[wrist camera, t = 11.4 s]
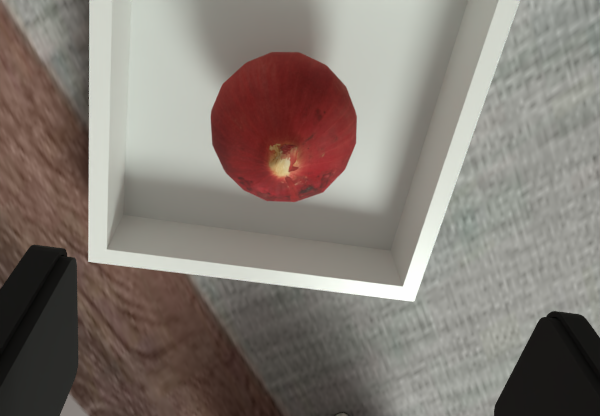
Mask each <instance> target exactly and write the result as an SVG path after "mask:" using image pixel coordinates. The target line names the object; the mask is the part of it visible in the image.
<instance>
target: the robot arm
mask: <svg viewBox="0 0 600 416" xmlns="http://www.w3.org/2000/svg"><path fill="white" fill-rule="evenodd" d="M77 368H78V317H77V263H76V259H75V258H72V257H67V252H66V250H65V249H63V248H55V247H47V246H40V245H32V246H31V247H30V248H29V249H28V250H27V252H26V253H25V255H24V256H23V258H22V259H21V260H20V262H19V263H18V265H17V266H16V268H15V269H14V270H13V272H12V273H11V275H10V276H9V278H8V279H7V281H6V282H5V283H4V285H3V286H2V288H1V289H0V416H60V413H61V411H62V408H63V406H64V404H65V401H66V399H67V396H68V394H69V392H70V389H71V387H72V384H73V382H74V379H75V376H76V373H77ZM494 416H600V338H599V336H598V335H597V333H596V332H595V331H594V329H593V328H592V326H591V325H590V324H589V322H588V321H587V320H586V318H585V317H584V316H582V315H579V314H572V313H565V312H557V311H554V312H551V313H549V314H548V315H547V317H543V318H541V319H540V320H539V322H538V323H537V325H536V327H535V329H534V331H533V333H532V335H531V337H530V339H529V341H528V343H527V345H526V347H525V348H524V350H523V352H522V354H521V356H520V358H519V360H518V362H517V364H516V366H515V368H514V370H513V372H512V374H511V376H510V377H509V379H508V381H507V383H506V385H505V387H504V389H503V391H502V393H501V395H500V397H499V399H498V401H497V403H496V405H495V409H494Z"/></svg>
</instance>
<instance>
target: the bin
mask: <svg viewBox="0 0 600 416" xmlns="http://www.w3.org/2000/svg"><path fill="white" fill-rule="evenodd" d="M519 2H520V0H89V243H88V262H95V263H103V264H111V265H119V266H128V267H136V268H144V269H152V270H160V271H168V272H177V273H185V274H193V275H201V276H209V277H217V278H226V279H234V280H242V281H250V282H258V283H266V284H275V285H283V286H291V287H299V288H307V289H315V290H324V291H332V292H340V293H348V294H356V295H364V296H373V297H381V298H389V299H397V300H405V301H413V302H414V300H415V298H416V295H417V292H418V289H419V286H420V283H421V281H422V278H423V275H424V272H425V269H426V266H427V263H428V261H429V258H430V255H431V252H432V249H433V246H434V244H435V241H436V238H437V235H438V232H439V229H440V227H441V224H442V221H443V218H444V215H445V212H446V209H447V207H448V204H449V201H450V198H451V195H452V192H453V190H454V187H455V184H456V181H457V178H458V175H459V173H460V170H461V167H462V164H463V161H464V158H465V156H466V153H467V150H468V147H469V144H470V141H471V138H472V136H473V133H474V130H475V127H476V124H477V121H478V119H479V116H480V113H481V110H482V107H483V104H484V102H485V99H486V96H487V93H488V90H489V87H490V84H491V82H492V79H493V76H494V73H495V70H496V67H497V65H498V62H499V59H500V56H501V53H502V50H503V48H504V45H505V42H506V39H507V36H508V33H509V30H510V28H511V25H512V22H513V19H514V16H515V13H516V11H517V8H518V5H519ZM271 52H300V53H302V54H304V55H306V56H308V57H311V58H313V59H315V60H317V61H319V62H321V63H323V64H325V65H327V66H328V67H329V68H330V69H331V70H332V72H333V73H334V74H335V75H336V76H337V77H338V78H339V79H340V80H341V81H342V82H343V84H344V85H345V86H346V88H347V90H348V93H349V96H350V98H351V101H352V103H353V106H354V109H355V111H356V115H357V131H356V145H355V147H354V150H353V152H352V154H351V157H350V159H349V162H348V164H347V166H346V169H345V170H344V171H343V172H342V173H341V174H340V175H339V176H338V177H337V179H336V180H335V181H334V182H333V183H332V184H331V185H330V186H329V187H328V188H327V189H326V190H325V191H324V192H323V193H320V194H317V195H314V196H311V197H308V198H305V199H303V200H300V201H297V202H278V201H266V200H263V199H261V198H259V197H257V196H255V195H253V194H251V193H249V192H246V191H244V190H243V189H242V188H241V187H240V186H239V185H238V184H237V183H236V182H235V181H234V180H233V179H232V178H230V177H229V176H228V175H227V174H226V172H225V171H224V169H223V167H222V165H221V163H220V161H219V158H218V156H217V154H216V152H215V150H214V148H213V146H212V133H211V110H212V108H213V105H214V103H215V100H216V98H217V96H218V93H219V91H220V89H221V86H222V84H223V83H224V82H225V81H226V80H228V79H229V78H230V77H231V76H232V75H233V74H234V73H235V72H236V71H237V70H238V69H239V68H240V67H242V66H243V65H244V64H245V63H246V62H248V61H251V60H253V59H256V58H258V57H261V56H263V55H266V54H268V53H271Z"/></svg>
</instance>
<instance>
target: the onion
mask: <svg viewBox="0 0 600 416" xmlns="http://www.w3.org/2000/svg"><path fill="white" fill-rule="evenodd" d="M356 131H357V115H356V111H355V109H354V106H353V103H352V101H351V98H350V96H349V93H348V90H347V88H346V86H345V85H344V84H343V82H342V81H341V80H340V79H339V78H338V77H337V76H336V75H335V74H334V73H333V72H332V70H331V69H330V68H329V67H328V66H327V65H325V64H323V63H321V62H319V61H317V60H315V59H313V58H311V57H308V56H306V55H304V54H302V53H300V52H271V53H268V54H266V55H263V56H261V57H258V58H256V59H253V60H251V61H248V62H246V63H245V64H244V65H243V66H242V67H240V68H239V69H238V70H237V71H236V72H235V73H234V74H233V75H232V76H231V77H230V78H229V79H228V80H226V81H225V82H224V83H223V84H222V86H221V89H220V91H219V93H218V96H217V98H216V100H215V103H214V105H213V108H212V110H211V133H212V146H213V148H214V150H215V152H216V154H217V156H218V158H219V161H220V163H221V165H222V167H223V169H224V171H225V172H226V174H227V175H228V176H229V177H230V178H232V179H233V180H234V181H235V182H236V183H237V184H238V185H239V186H240V187H241V188H242V189H243V190H244V191H246V192H249V193H251V194H253V195H255V196H257V197H259V198H261V199H263V200H266V201H278V202H297V201H300V200H303V199H305V198H308V197H311V196H314V195H317V194H320V193H323V192H324V191H325V190H326V189H327V188H328V187H329V186H330V185H331V184H332V183H333V182H334V181H335V180H336V179H337V177H338V176H339V175H340V174H341V173H342V172H343V171H344V170H345V169H346V166H347V164H348V162H349V159H350V157H351V154H352V152H353V150H354V147H355V145H356Z"/></svg>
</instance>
